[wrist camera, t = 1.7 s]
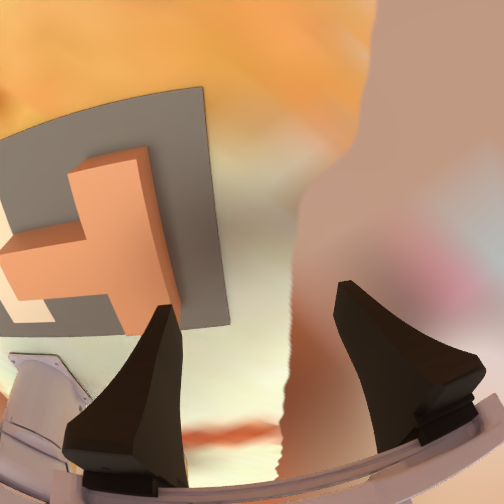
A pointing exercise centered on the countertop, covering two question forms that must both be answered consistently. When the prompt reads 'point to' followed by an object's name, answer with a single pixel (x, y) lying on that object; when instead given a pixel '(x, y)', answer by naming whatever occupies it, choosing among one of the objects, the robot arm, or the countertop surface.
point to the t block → (101, 244)
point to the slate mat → (64, 210)
